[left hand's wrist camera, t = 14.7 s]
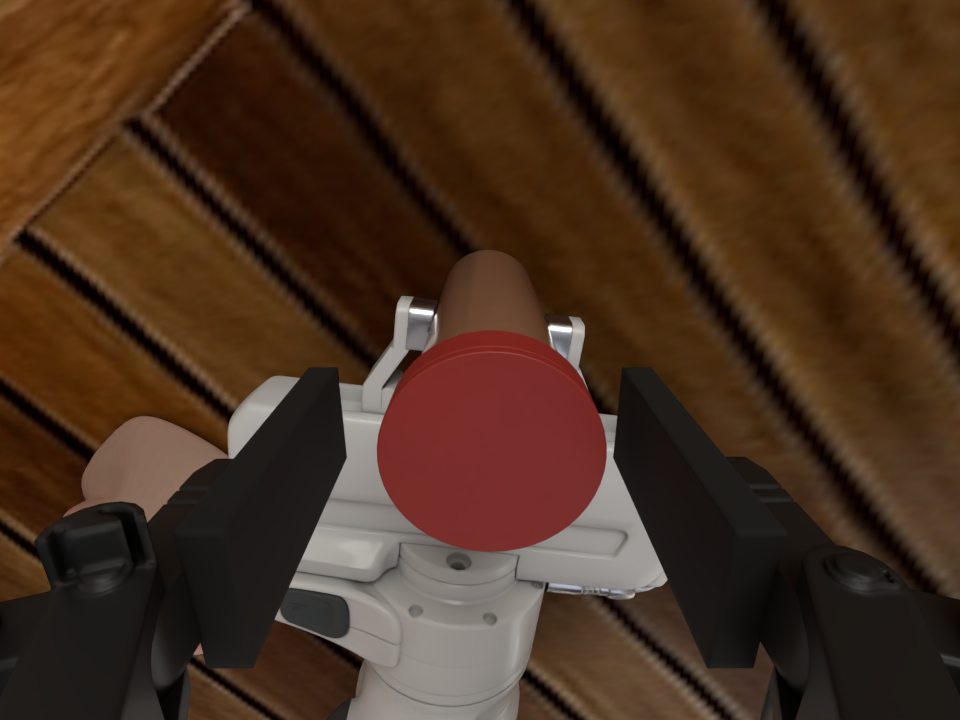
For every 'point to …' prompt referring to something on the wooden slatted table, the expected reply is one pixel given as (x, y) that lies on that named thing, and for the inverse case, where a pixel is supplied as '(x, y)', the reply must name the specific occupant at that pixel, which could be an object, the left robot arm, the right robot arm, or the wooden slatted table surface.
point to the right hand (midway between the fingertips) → (490, 309)
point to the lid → (491, 442)
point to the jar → (488, 300)
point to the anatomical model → (144, 466)
